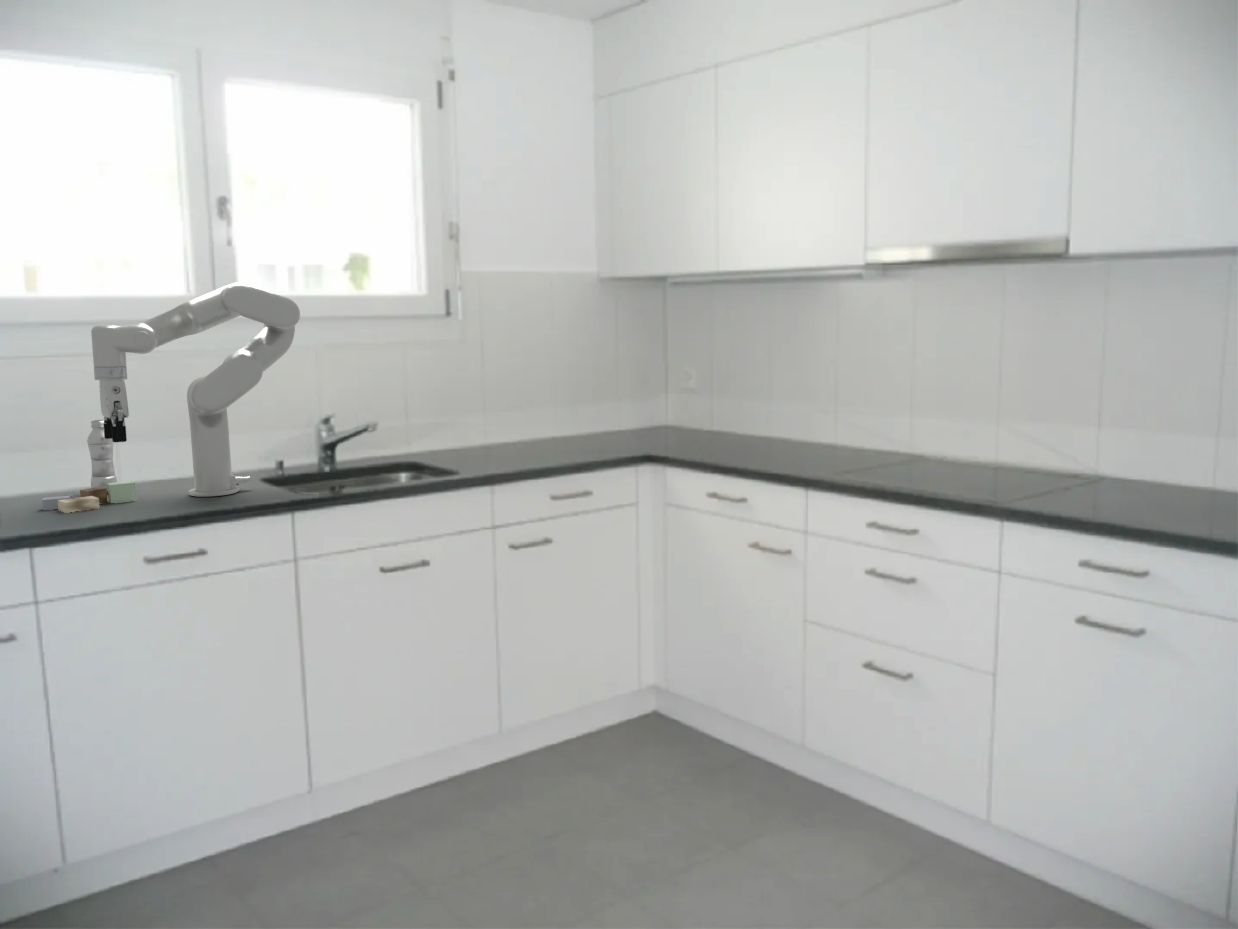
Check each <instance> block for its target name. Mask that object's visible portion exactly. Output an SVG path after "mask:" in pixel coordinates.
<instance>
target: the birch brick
mask: <svg viewBox="0 0 1238 929" xmlns="http://www.w3.org/2000/svg"><path fill="white" fill-rule="evenodd" d="M100 505H101V504H100ZM100 505H99V498H97V497H94V496H86V497H80V496H79V497H74V498H72V497H71V499H63V500H58V510H57V511H58V512H60V511H61V512H60V513H63V512H64V513H63V514H71V513H70V512H72V513H76V512H75V511H79V512H82V511H81V510H87V509H94V510H99V508H101V507H100ZM87 511H88V510H87Z"/></svg>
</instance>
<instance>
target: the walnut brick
mask: <svg viewBox="0 0 1238 929" xmlns="http://www.w3.org/2000/svg"><path fill="white" fill-rule="evenodd" d="M86 496H94V497H97V498H99V504H100V503H105V504H108V503H109V500H108V493H107V490H106V488H101V487H97V488H91V487H90V488H86V489H79V497H86ZM100 505H101V504H100Z"/></svg>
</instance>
